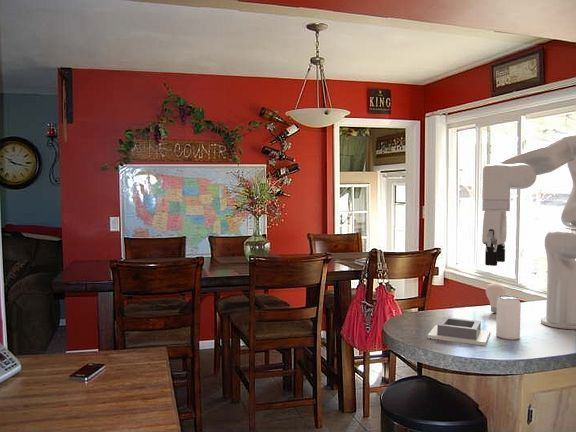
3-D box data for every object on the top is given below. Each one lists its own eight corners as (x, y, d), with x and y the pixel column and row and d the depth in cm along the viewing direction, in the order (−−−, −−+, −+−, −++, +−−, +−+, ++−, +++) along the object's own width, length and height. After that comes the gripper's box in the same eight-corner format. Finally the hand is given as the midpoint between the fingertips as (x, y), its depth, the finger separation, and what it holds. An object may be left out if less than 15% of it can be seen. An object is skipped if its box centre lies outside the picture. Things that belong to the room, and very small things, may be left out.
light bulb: (481, 311, 180) (481, 281, 180) (496, 310, 182) (496, 280, 182) (493, 316, 174) (494, 284, 173) (509, 314, 176) (509, 283, 175)
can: (492, 334, 151) (492, 295, 150) (512, 333, 151) (513, 294, 151) (502, 340, 144) (503, 299, 144) (524, 340, 145) (525, 299, 144)
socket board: (490, 334, 150) (490, 321, 150) (485, 345, 139) (485, 331, 139) (435, 327, 158) (436, 315, 157) (427, 338, 146) (427, 324, 146)
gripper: (490, 205, 156) (489, 259, 157) (474, 206, 142) (474, 266, 143) (515, 205, 152) (514, 261, 152) (502, 206, 138) (501, 268, 138)
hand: (495, 263), depth 148 cm, fingers open, 9 cm apart
